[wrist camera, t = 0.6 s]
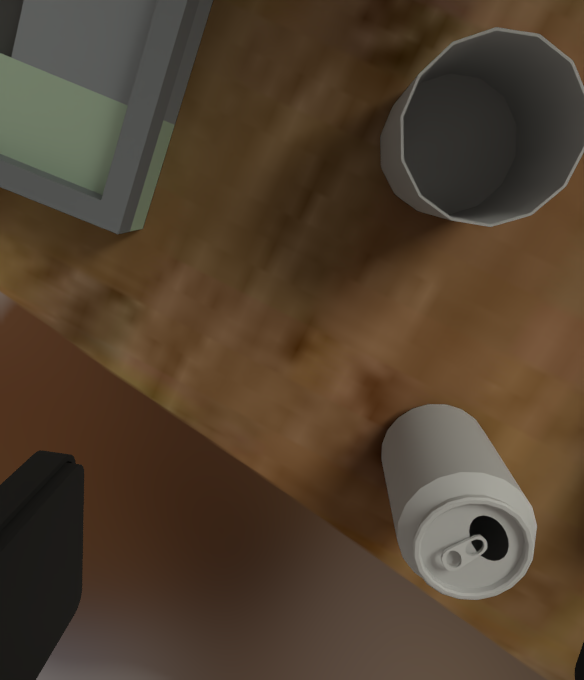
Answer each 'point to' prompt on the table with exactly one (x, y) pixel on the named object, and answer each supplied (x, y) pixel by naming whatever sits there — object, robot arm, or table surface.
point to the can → (456, 504)
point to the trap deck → (93, 101)
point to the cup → (486, 129)
